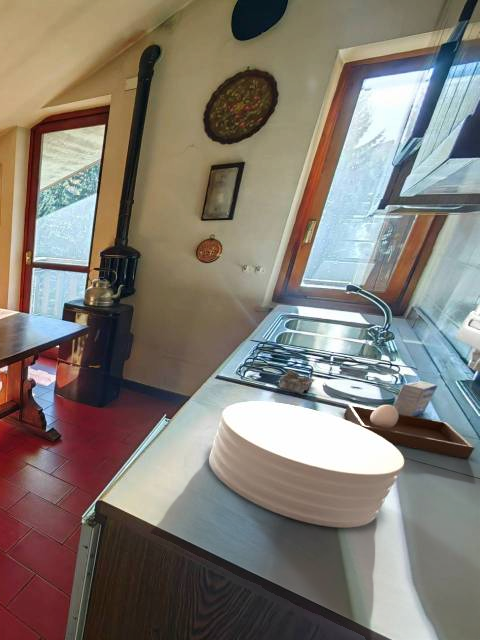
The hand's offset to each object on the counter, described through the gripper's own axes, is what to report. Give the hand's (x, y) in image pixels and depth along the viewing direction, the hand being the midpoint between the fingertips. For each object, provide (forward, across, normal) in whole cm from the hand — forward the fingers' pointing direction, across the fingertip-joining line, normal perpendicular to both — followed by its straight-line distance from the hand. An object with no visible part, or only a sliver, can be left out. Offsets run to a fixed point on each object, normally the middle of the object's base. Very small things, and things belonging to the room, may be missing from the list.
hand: (475, 369), depth 89 cm
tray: (+19, 0, -6) cm, 20 cm away
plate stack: (+19, +39, -35) cm, 56 cm away
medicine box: (+19, -18, 0) cm, 26 cm away
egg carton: (+19, -24, -25) cm, 40 cm away
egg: (+19, 0, -11) cm, 22 cm away
